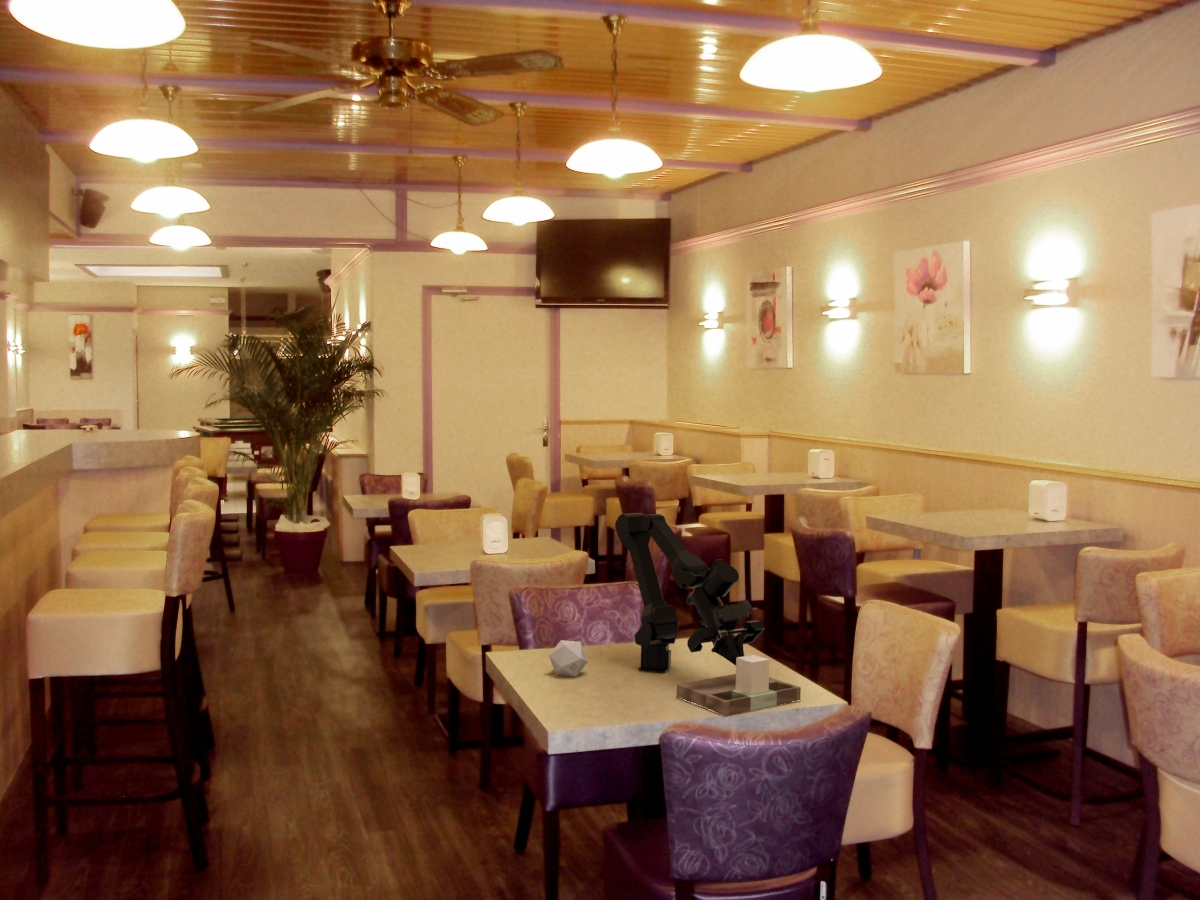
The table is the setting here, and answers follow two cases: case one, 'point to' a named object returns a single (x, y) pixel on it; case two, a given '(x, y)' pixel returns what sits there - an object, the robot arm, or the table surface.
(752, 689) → the block
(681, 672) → the table surface
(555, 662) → the die
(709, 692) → the brown compartment tray
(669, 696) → the table surface
